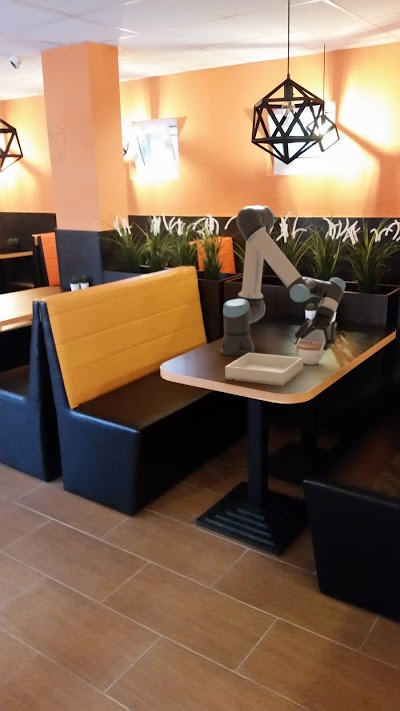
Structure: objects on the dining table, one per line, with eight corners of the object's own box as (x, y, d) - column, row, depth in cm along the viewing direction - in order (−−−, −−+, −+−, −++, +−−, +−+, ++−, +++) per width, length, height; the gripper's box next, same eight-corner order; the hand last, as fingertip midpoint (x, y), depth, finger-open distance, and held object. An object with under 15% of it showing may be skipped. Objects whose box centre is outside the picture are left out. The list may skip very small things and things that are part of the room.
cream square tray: (225, 378, 233) (225, 366, 232) (248, 363, 251) (248, 352, 250) (282, 385, 222) (282, 373, 220) (302, 369, 240) (302, 357, 239)
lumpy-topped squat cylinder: (301, 343, 281) (301, 325, 279) (306, 336, 293) (306, 319, 291) (323, 344, 278) (323, 326, 275) (327, 337, 289) (328, 320, 287)
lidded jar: (323, 366, 242) (324, 344, 240) (297, 365, 244) (297, 343, 242) (323, 358, 252) (324, 337, 250) (298, 358, 254) (298, 337, 252)
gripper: (354, 318, 248) (336, 363, 241) (305, 312, 262) (286, 354, 255) (348, 308, 243) (330, 353, 235) (299, 303, 257) (280, 345, 249)
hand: (307, 354), depth 245 cm, fingers closed on lidded jar, 11 cm apart
